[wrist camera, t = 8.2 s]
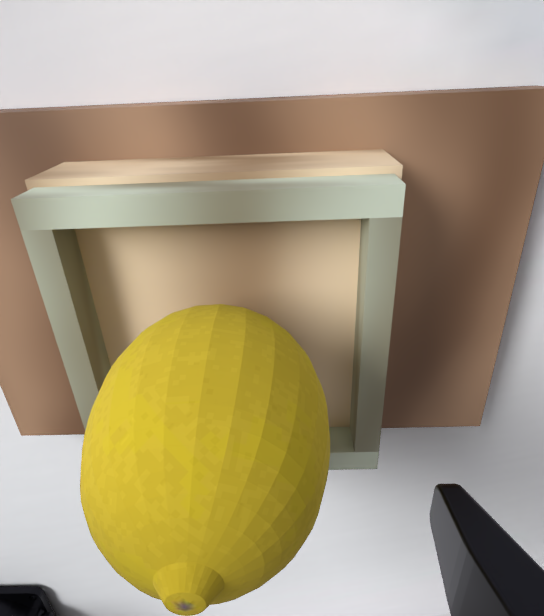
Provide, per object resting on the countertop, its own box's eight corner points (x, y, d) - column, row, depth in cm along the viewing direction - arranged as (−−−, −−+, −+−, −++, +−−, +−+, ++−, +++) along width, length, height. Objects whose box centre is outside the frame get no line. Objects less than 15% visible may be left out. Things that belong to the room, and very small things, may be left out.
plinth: (37, 412, 21) (-30, 508, 16) (-77, 113, 15) (-235, 134, 10) (466, 402, 20) (521, 500, 16) (535, 85, 14) (656, 95, 10)
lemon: (343, 293, 13) (422, 548, 6) (276, 422, 16) (280, 707, 9) (164, 229, 12) (26, 447, 5) (122, 378, 15) (-9, 658, 8)
